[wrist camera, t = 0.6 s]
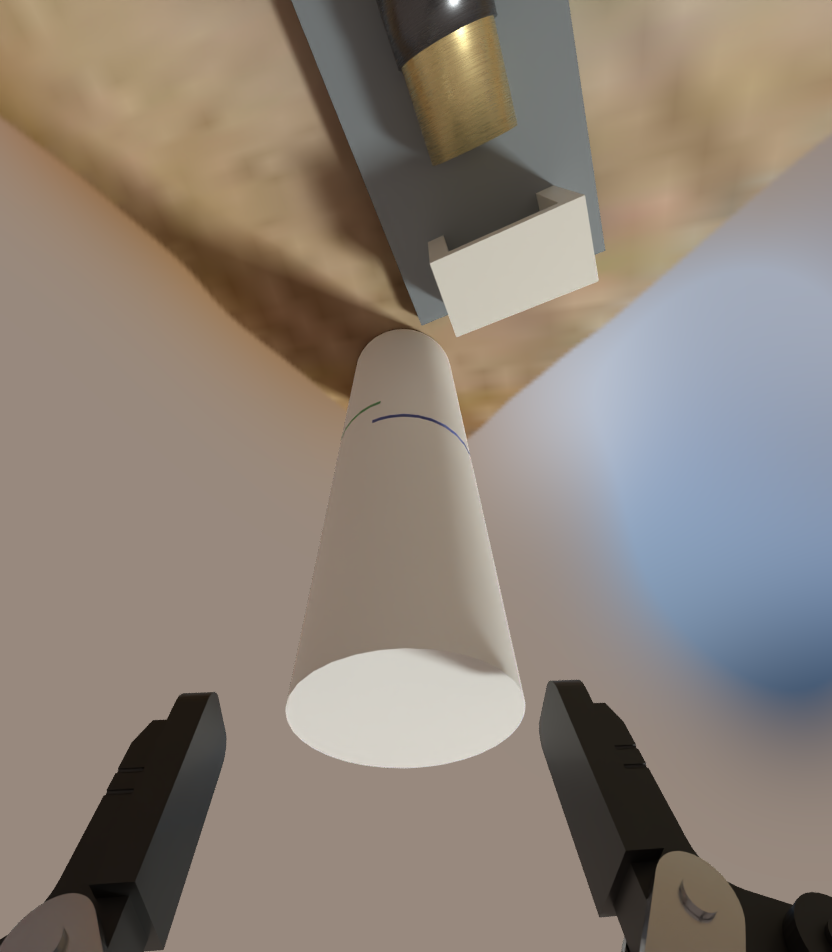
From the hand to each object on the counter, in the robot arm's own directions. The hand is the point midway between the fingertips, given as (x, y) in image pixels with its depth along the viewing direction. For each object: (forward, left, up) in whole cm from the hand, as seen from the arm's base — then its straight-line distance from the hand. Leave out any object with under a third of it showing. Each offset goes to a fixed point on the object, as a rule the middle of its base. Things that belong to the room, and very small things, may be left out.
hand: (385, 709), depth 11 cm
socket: (-3, +7, -25) cm, 26 cm away
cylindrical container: (+2, -1, -26) cm, 26 cm away
